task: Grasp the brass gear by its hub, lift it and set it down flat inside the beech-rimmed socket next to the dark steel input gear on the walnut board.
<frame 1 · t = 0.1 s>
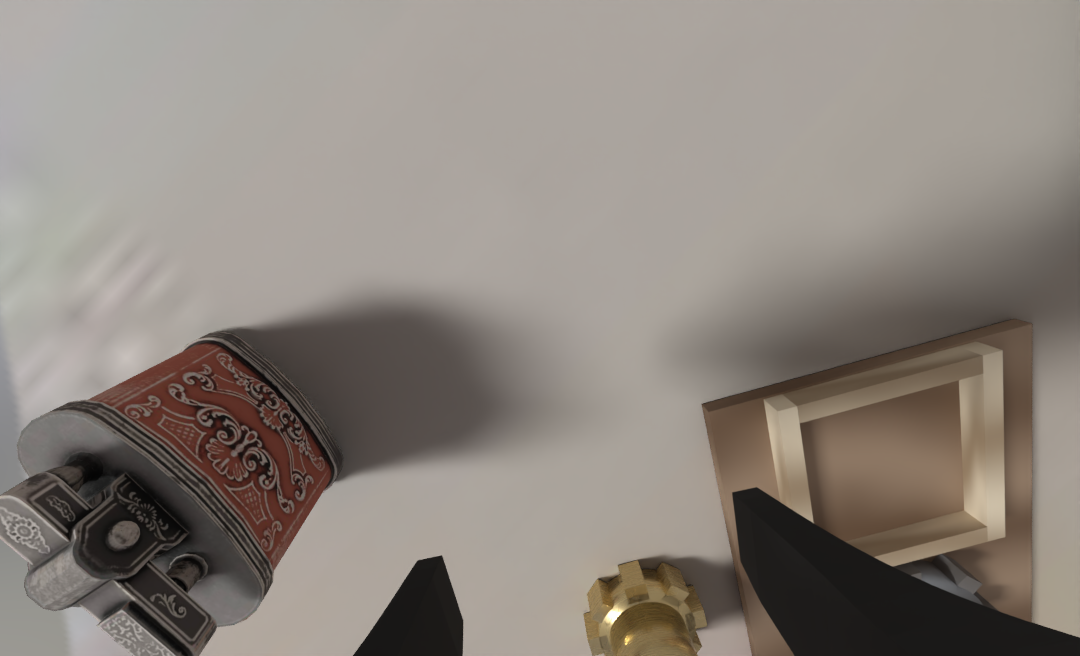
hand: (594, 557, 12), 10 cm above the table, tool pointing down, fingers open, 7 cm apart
gear board: (873, 528, 25), on the table
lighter: (271, 410, 22), on the table
brass gear: (640, 607, 25), on the table
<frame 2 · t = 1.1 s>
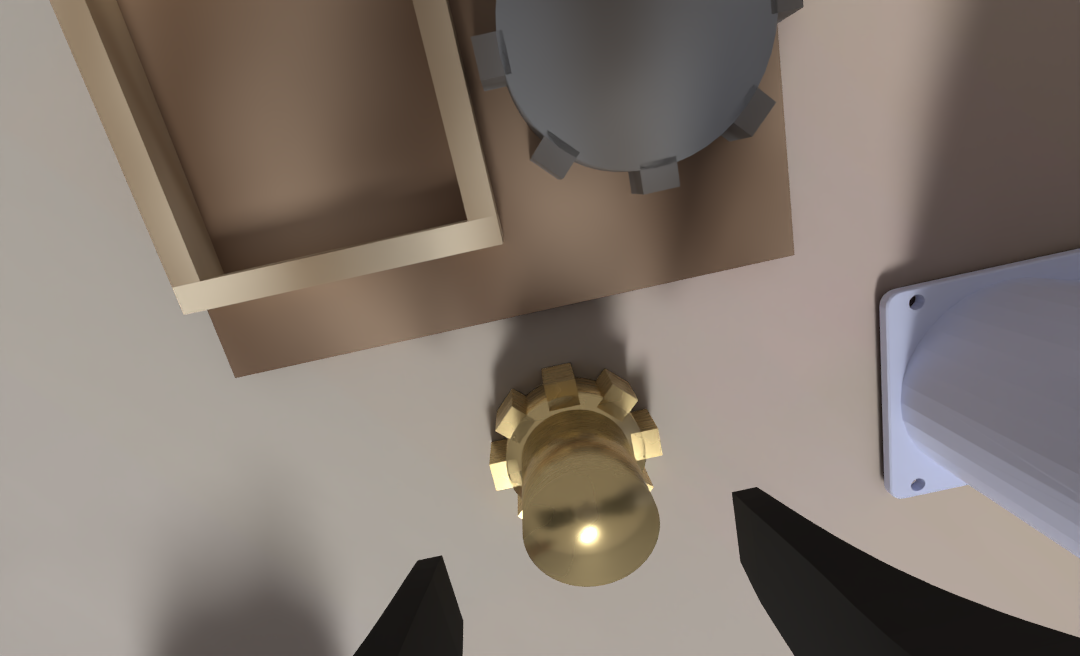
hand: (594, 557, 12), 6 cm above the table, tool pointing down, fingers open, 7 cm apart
gear board: (458, 83, 15), on the table
brass gear: (571, 437, 18), on the table
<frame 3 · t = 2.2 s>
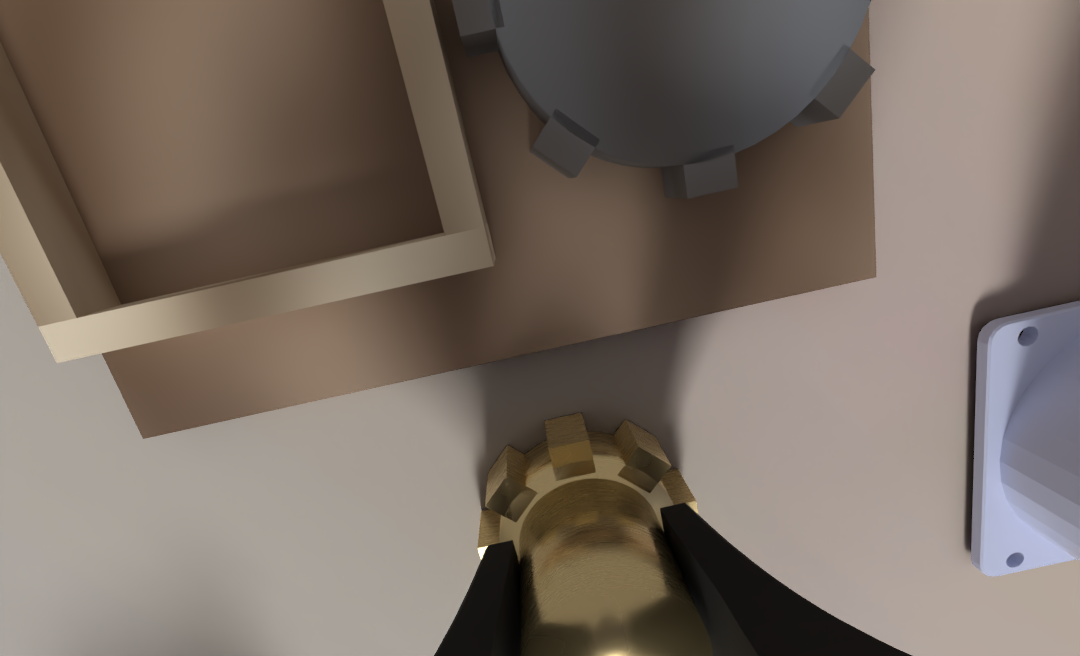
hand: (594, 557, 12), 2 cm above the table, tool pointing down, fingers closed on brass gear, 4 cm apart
gear board: (433, 48, 11), on the table
brass gear: (582, 505, 14), on the table, touching gripper
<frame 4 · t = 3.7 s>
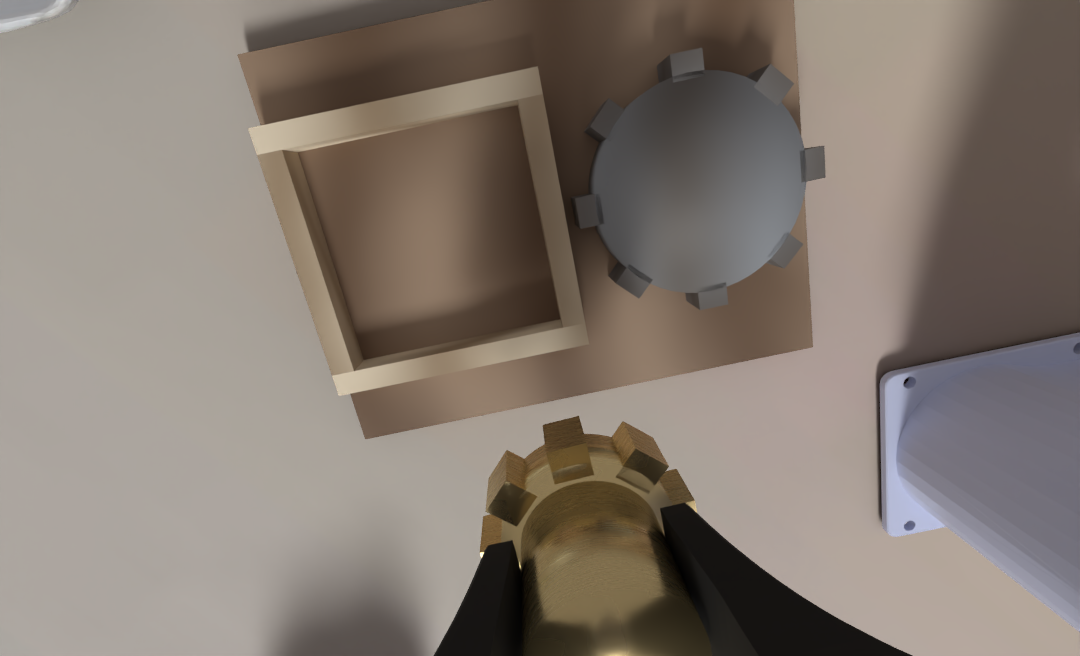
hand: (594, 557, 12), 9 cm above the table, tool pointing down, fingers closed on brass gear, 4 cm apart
gear board: (552, 214, 19), on the table
brass gear: (583, 507, 14), point 7 cm above the table, touching gripper
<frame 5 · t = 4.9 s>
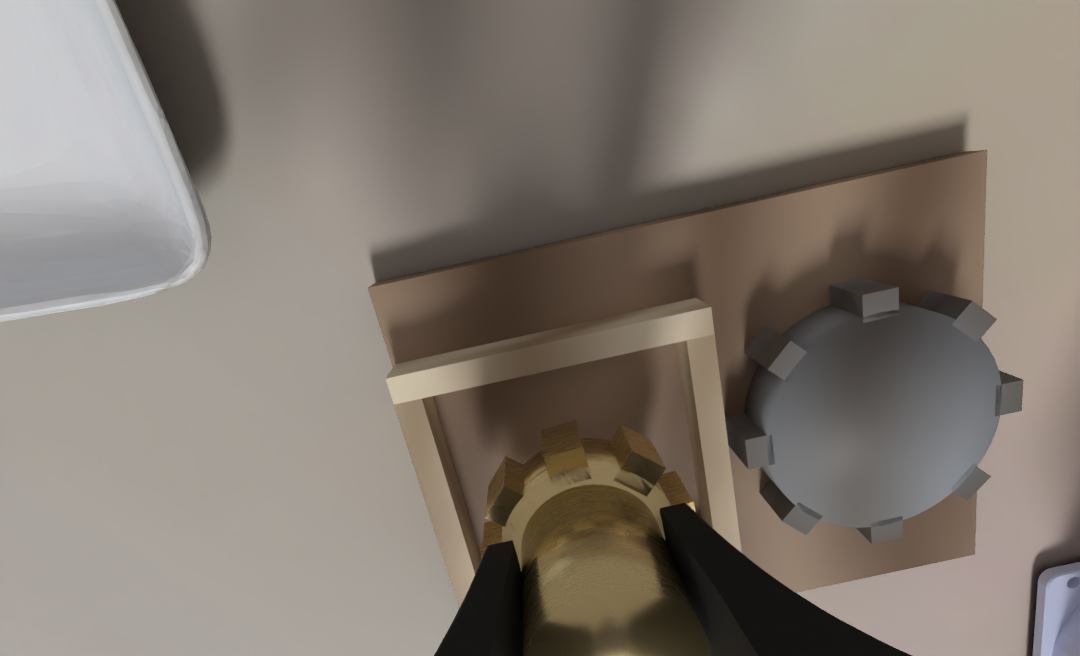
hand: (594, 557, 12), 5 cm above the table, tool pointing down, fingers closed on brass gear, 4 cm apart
gear board: (696, 424, 17), on the table
brass gear: (583, 511, 14), point 3 cm above the table, touching gripper
when the fingers open (4 cm above the table, at t = 5.5 s): brass gear stays where it is, resting on gear board.
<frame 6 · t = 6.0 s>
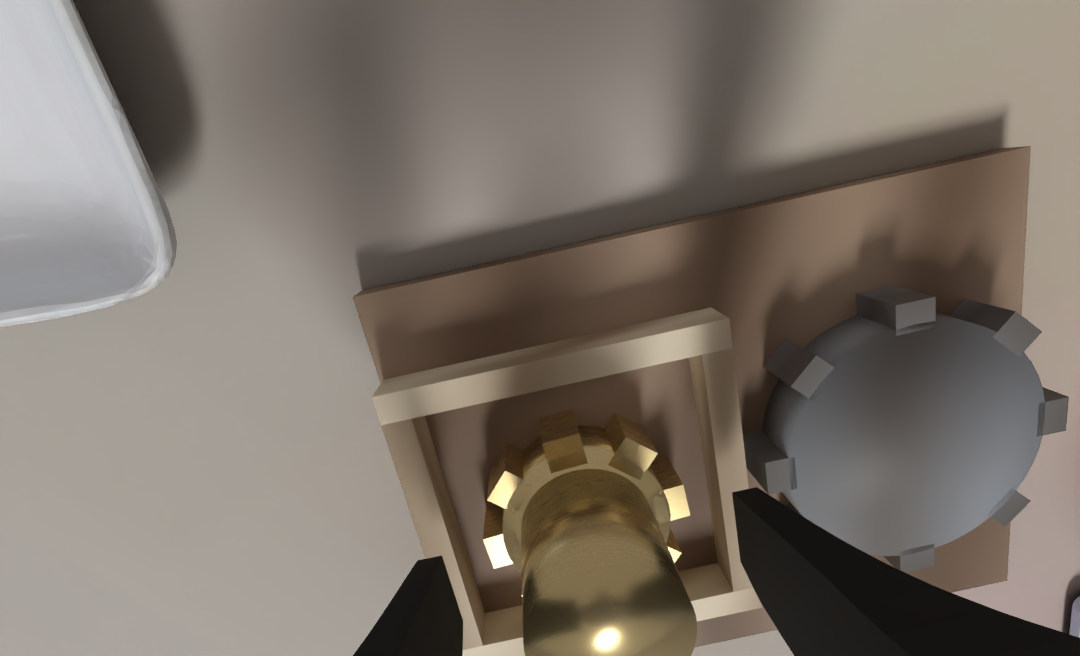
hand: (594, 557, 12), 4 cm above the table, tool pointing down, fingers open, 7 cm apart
gear board: (709, 442, 16), on the table
brass gear: (580, 495, 15), point 1 cm above the table, touching gear board
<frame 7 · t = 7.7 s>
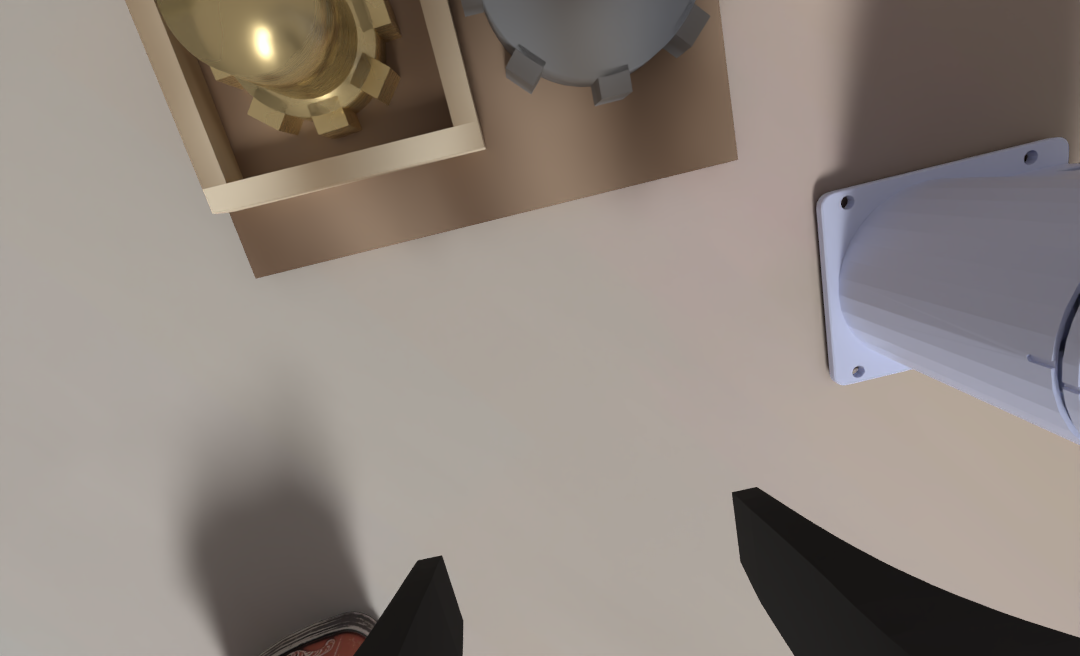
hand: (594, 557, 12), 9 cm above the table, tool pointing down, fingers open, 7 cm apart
gear board: (443, 13, 17), on the table
brass gear: (314, 47, 17), point 1 cm above the table, touching gear board
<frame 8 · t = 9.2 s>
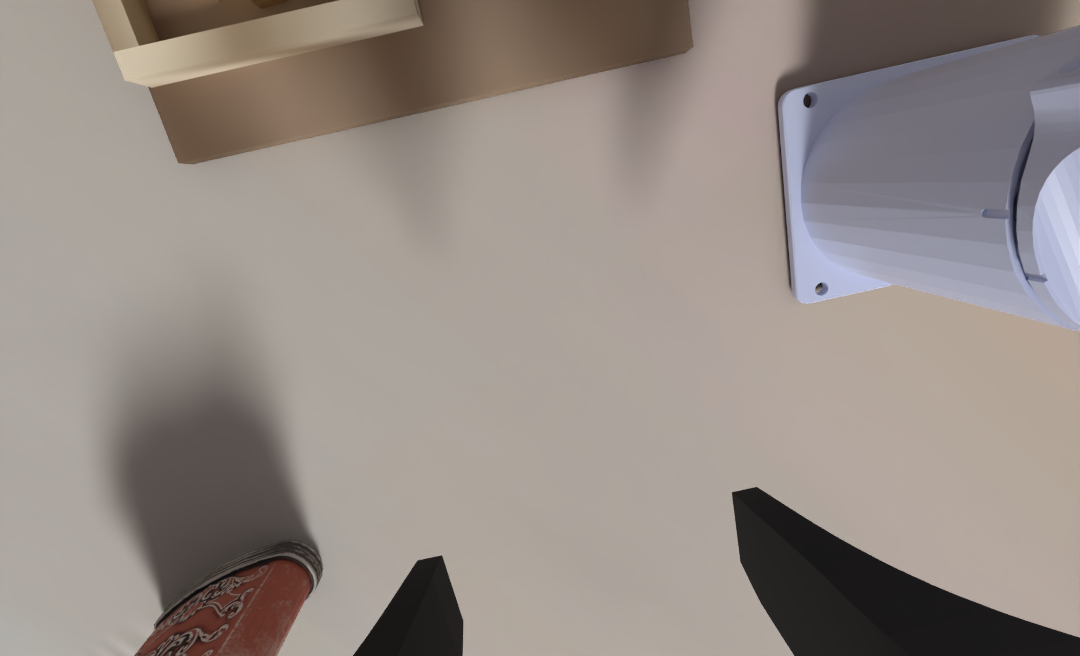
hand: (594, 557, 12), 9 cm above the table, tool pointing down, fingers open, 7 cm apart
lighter: (246, 589, 23), on the table
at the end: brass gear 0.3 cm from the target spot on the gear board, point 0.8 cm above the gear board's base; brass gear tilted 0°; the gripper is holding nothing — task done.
